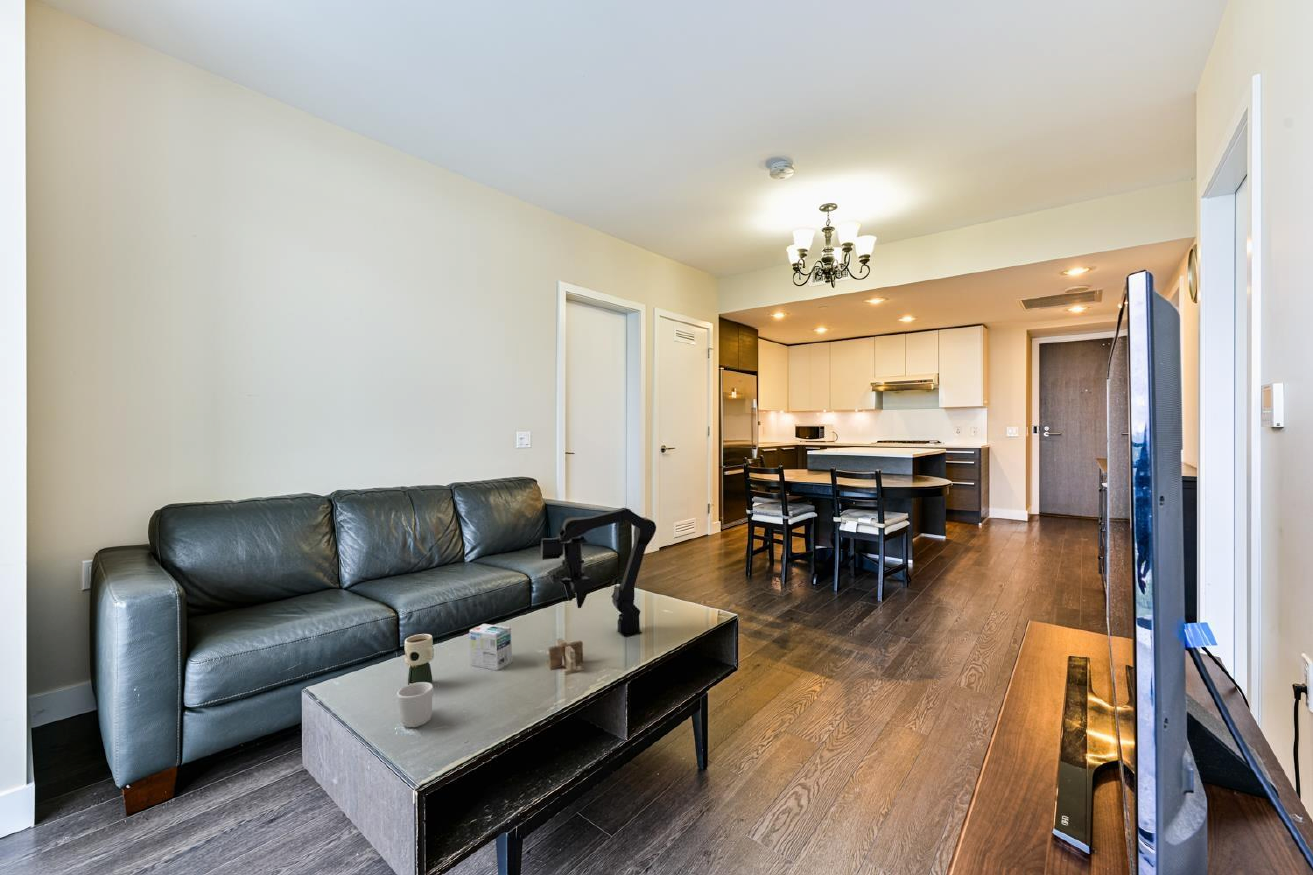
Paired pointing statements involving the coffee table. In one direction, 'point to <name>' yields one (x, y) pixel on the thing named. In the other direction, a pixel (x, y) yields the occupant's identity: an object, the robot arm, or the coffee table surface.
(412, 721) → the cup
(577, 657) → the walnut plate
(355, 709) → the coffee table surface
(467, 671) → the coffee table surface
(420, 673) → the character mug
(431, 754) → the coffee table surface
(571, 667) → the maple jig
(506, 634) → the light bulb box
